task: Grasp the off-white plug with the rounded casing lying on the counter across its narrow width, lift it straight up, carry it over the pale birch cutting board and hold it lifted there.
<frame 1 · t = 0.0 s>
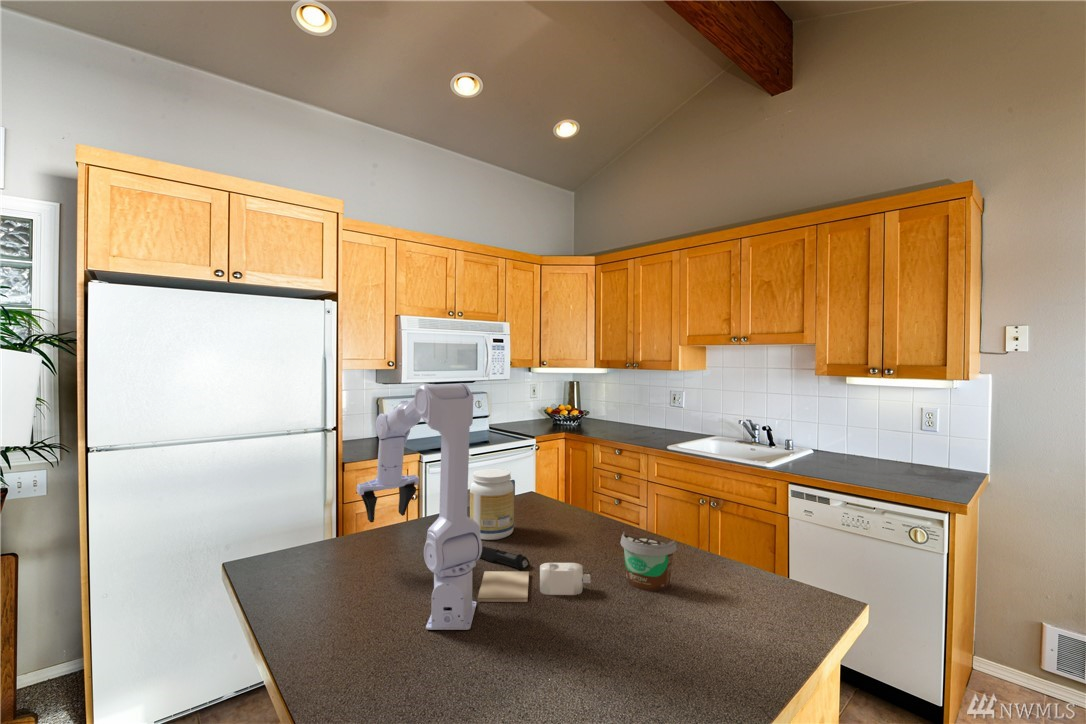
hand: (386, 517, 117), 11 cm above the counter, tool pointing down, fingers open, 7 cm apart
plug: (561, 590, 103), on the counter
supplement tub: (491, 533, 136), on the counter
cutting board: (504, 587, 104), on the counter
food container: (644, 587, 105), on the counter
electric trimmer: (500, 564, 117), on the counter
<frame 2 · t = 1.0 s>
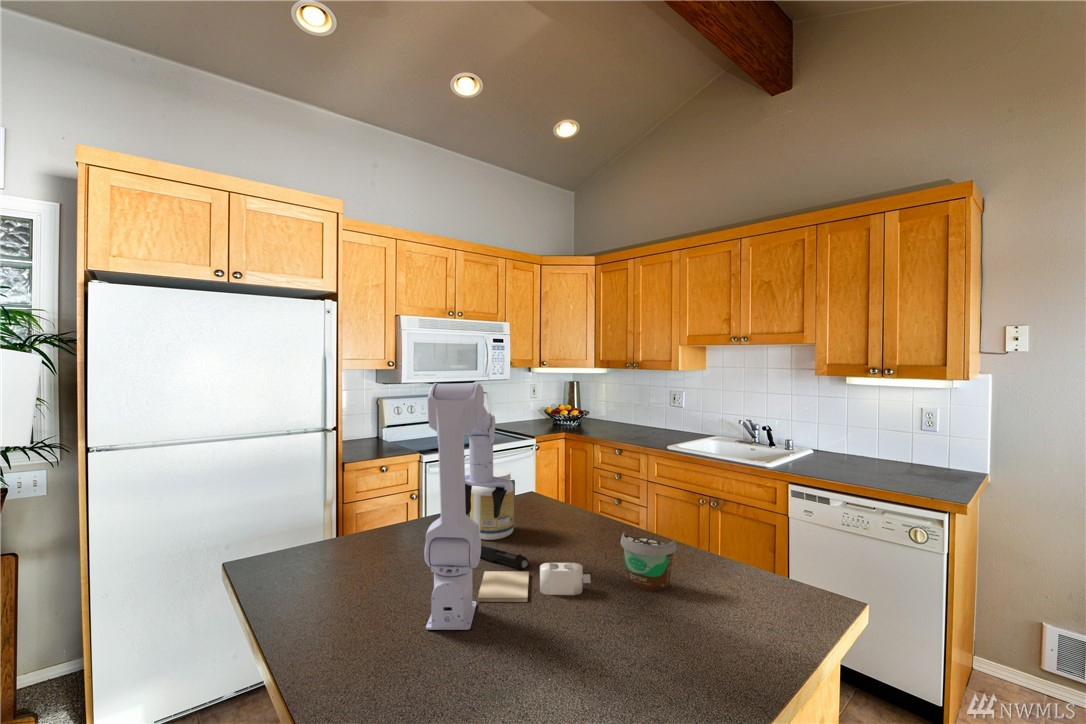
hand: (482, 514, 121), 10 cm above the counter, tool pointing down, fingers open, 7 cm apart
nothing on the counter moved.
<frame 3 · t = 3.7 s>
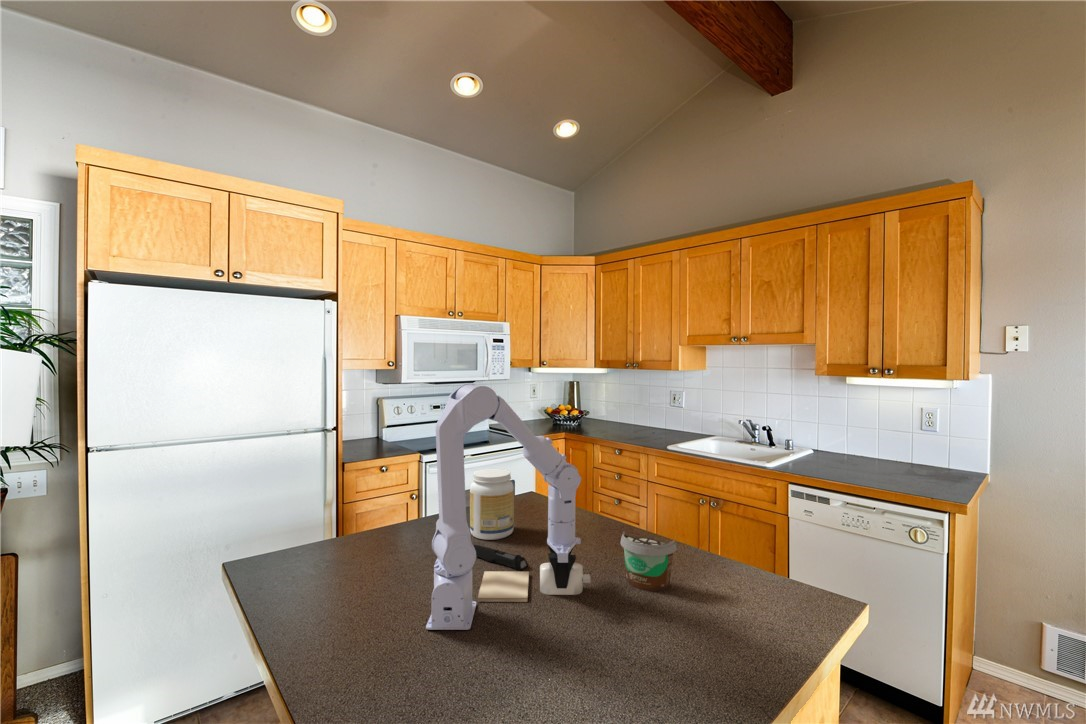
hand: (561, 582, 103), 2 cm above the counter, tool pointing down, fingers closed on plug, 4 cm apart
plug: (561, 590, 103), on the counter, touching gripper
everything else where it was.
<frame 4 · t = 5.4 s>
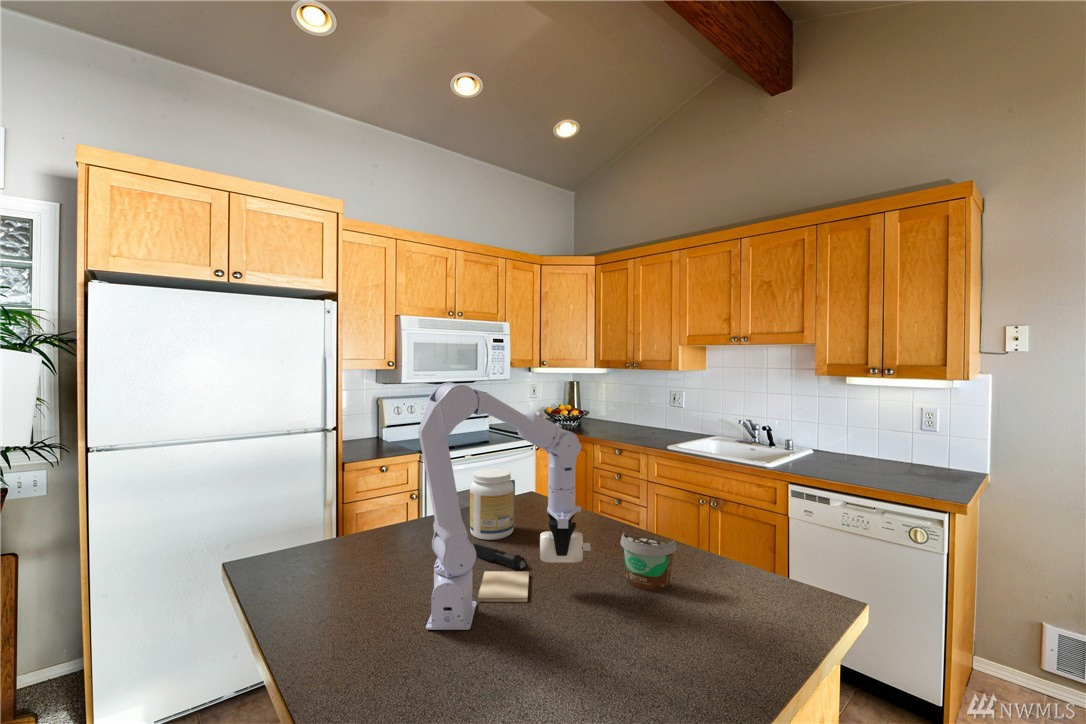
hand: (561, 550, 103), 8 cm above the counter, tool pointing down, fingers closed on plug, 4 cm apart
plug: (561, 558, 103), point 7 cm above the counter, touching gripper
everything else where it was.
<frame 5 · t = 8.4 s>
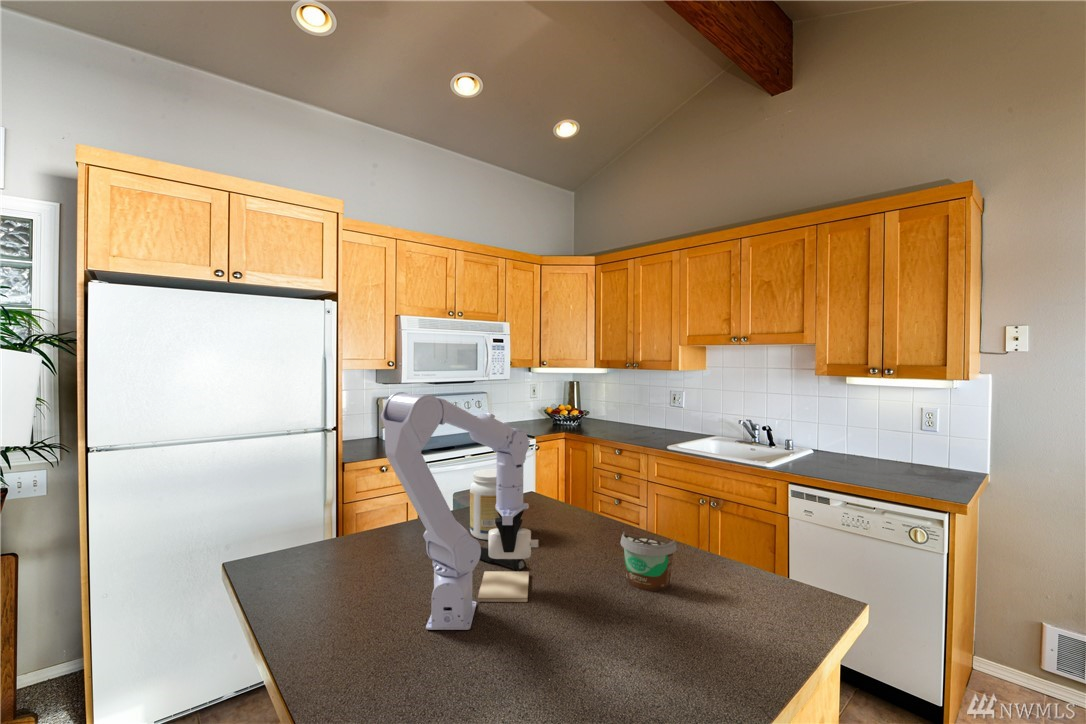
hand: (509, 547, 104), 9 cm above the counter, tool pointing down, fingers closed on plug, 4 cm apart
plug: (509, 555, 104), point 7 cm above the counter, touching gripper
everything else where it was.
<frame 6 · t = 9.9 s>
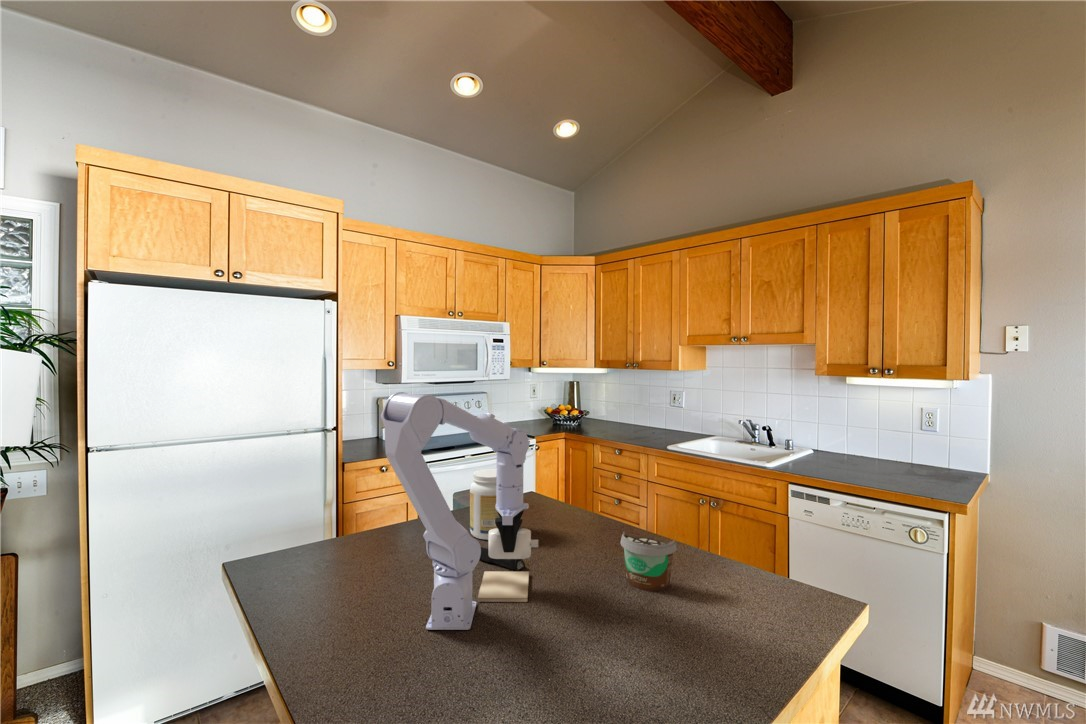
hand: (509, 547, 104), 9 cm above the counter, tool pointing down, fingers closed on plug, 4 cm apart
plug: (509, 555, 104), point 7 cm above the counter, touching gripper
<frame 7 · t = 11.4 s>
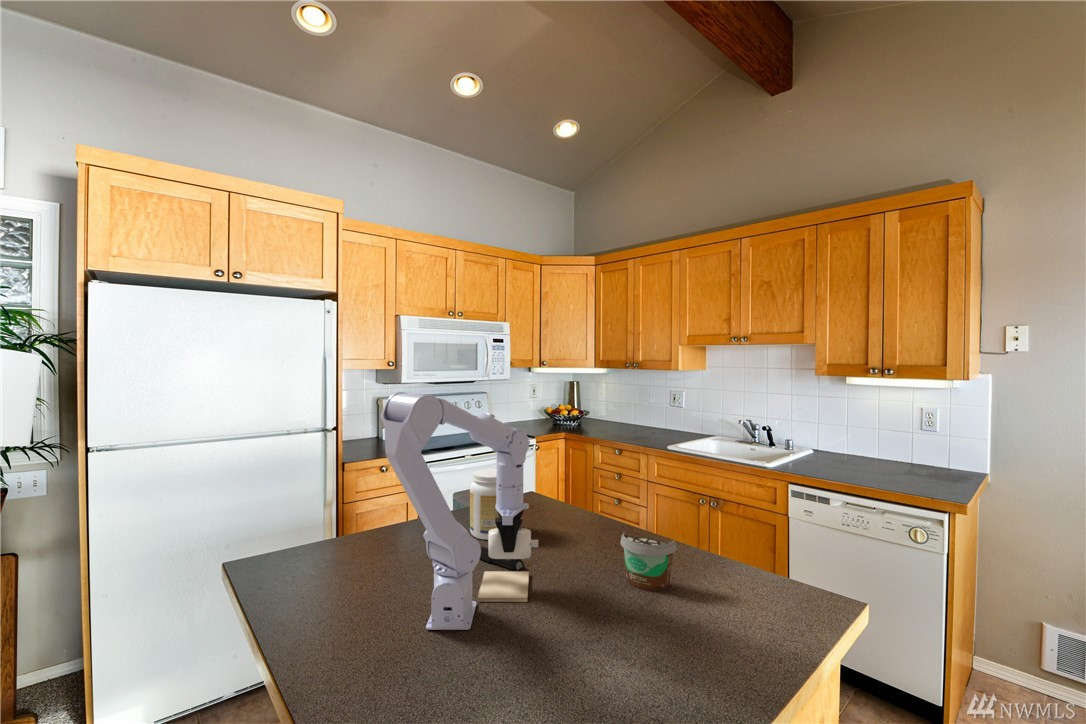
hand: (509, 547, 104), 9 cm above the counter, tool pointing down, fingers closed on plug, 4 cm apart
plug: (509, 555, 104), point 7 cm above the counter, touching gripper
everything else where it was.
at the end: the gripper is holding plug; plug point 7.0 cm above the counter; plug inside the target area on the cutting board (0.5 cm from its centre), point 7.0 cm above the cutting board's base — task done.
